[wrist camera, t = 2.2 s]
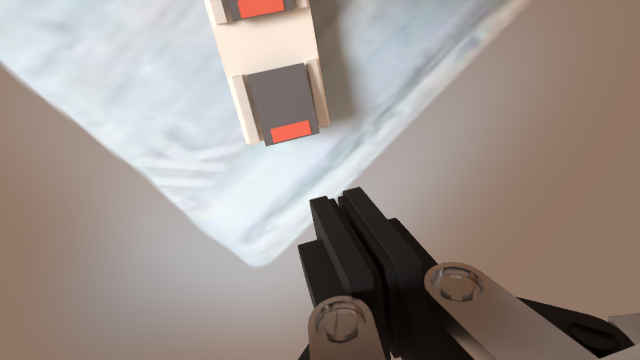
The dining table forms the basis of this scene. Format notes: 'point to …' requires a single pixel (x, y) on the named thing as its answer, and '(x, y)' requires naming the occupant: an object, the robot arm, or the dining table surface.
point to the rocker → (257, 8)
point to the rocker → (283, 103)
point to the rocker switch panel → (266, 56)
